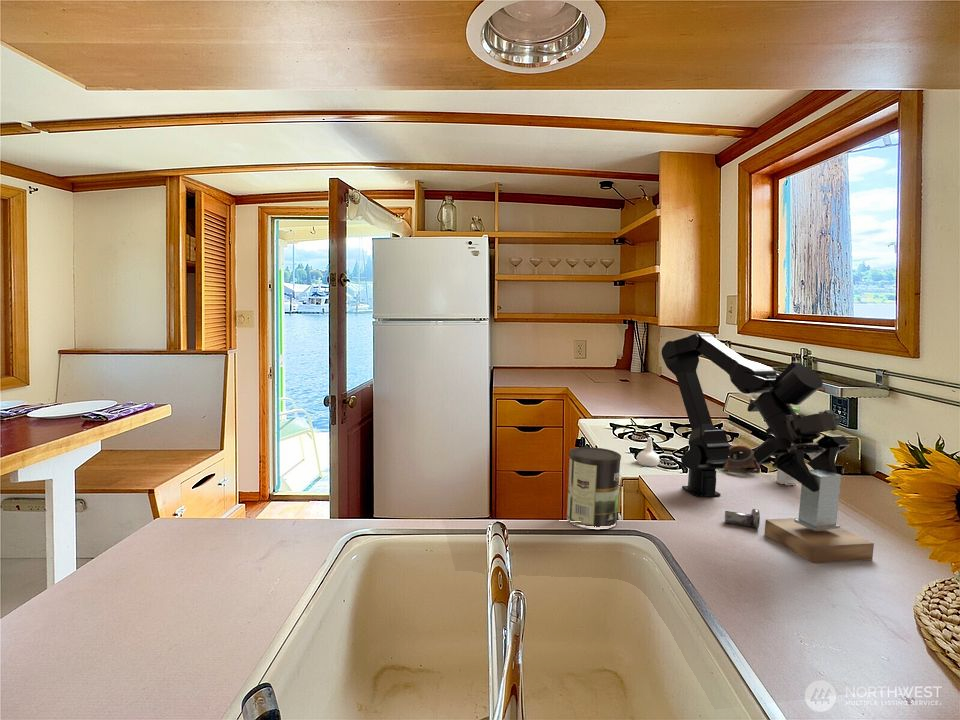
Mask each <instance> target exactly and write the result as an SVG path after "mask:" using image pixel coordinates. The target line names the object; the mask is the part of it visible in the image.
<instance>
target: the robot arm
mask: <svg viewBox="0 0 960 720" xmlns="http://www.w3.org/2000/svg"><path fill="white" fill-rule="evenodd" d="M701 356H704V357H705V358H707V359H708V360H709V361H711V362H712V363H713V364H714V365H716V366H717V367H719V368H720V369H721V370H723V371H724V372H725V373H727V375H729V378H730V379H729V380H730V383H732V384H733V386H734V387H735V388H736V389H737V390H738V391H739V392H740V393H742V394H746V395H747V394H748V395H751V394H753V395H754V394H759V396H757V397H756V398H750V399H749V404H748V405H747V409H746V410H747V412H749V413H752V412H759V414H760V416H761V417H762V419H763V420H764V422H765V424H766V425H767V428H766V429H765V432H766V434H767V435H768V436H769V435H770V436H771V435H773V437H769V438H767V439H766V440H765V441H763V442H762V443H760V444H759V445H758V446H757V447H756V448H754V449H753V452H754V455H753V457H754V458H755V460H756V462H757V463H758V465H761V466H762V465H770V464H771V462H772V456H774V460H775V462H773V463H772V464H771V467H773V468H776V469H780V470H781V471H783V472H785V473H786V474H788V475H789V476H791V477H792V478H794V479H795V480H796V482H798V483H800V484H801V485H802V484H803V485H804V486H805V487H807V488H808V489H810V490H811V491H813V492H816V491H818V490H819V488H818V486H817V484H816V482H815V480H814V478H813V476H812V475H811V473H810V471H809V470H810V469H809V468H808V466H809V467H810V468H812V470H818V469H824V470H827V471H830V472H834V473H837V474H838V471H837V468H836V467H837V466H836V462H835V458H836V456H837V455H839V454H840V453H841V452H843V451H844V450H846V449H847V448H849V447H850V446H851V443H850V442H849V440H847V437H846V436H844V435H841V434H826V435H824V436H822V437H821V434H820V433H824V432H829V431H832V432H833V431H838V426H839V425H840V424H841V422H840V421H841V418H840V417H839V416H838V415H837V414H836V413H835V412H834V411H833V410H832V409H825V410H824V411H818V413H813V414H812V413H811V414H808V415H805V414H803V413H802V414H799V413H798V415H797V414H796V412H795V411H794V409H793V408H794V407H793V406H800V405H802V403H804V402H805V401H806V400H807V399H809V398H810V397H811V396H813V394H815V393H816V392H818V390H820V389H821V388H822V387H823V383H824V382H823V380H822V378H821V376H820V375H819V373H816V372H815V371H813V370H812V369H810V368H809V367H807V366H804V365H803V363H802V362H801V361H791V362H790V363H789V364H788V365H787V366H786V368H785V369H784V370H783V371H782V372H781V373H780V374H778V373H777V372H776V370H775V369H774V368H773V367H770V366H767V365H765V364H762V363H760V362H757V361H753V360H749V359H747V358H744V357H743V356H741V355H740V354H739V353H737V352H736V351H734V350H733V349H731V348H729V347H728V346H727V345H725V344H724V343H722V342H721V341H720V340H718V339H717V338H715V336H714V335H712V334H711V333H699V332H698V333H697V332H696V333H693V334H691V335H689V336H686V337H683V338H678V339H676V340H668V341H666V342H665V344H664V345H663V346H662V348H661V357H662V359H663V362H664V365H665V366H666V368H667V369H668V370H669V371H670V372H671V373H672V374H673V375H674V376H675V378H676V380H677V381H676V382H677V384H678V385H677V386H678V388H679V393H680V394H681V398H682V402H683V405H684V408H685V411H686V414H687V418H688V421H689V425H690V429H691V432H690V434H689V438H688V447H689V449H688V450H686V452H685V453H683V454H682V455H681V457H680V461H681V465H682V467H685V468H686V469H688V479H687V485H681V488H682V490H685V491H686V492H688V493H690V494H692V495H693V496H694V497H721V493H720V492H719V491H717V470H725V469H724V466H725V464H726V461H727V459H728V458H730V457H729V455H730V450H729V447H730V446H731V444H730V443H729V441H728V437H727V433H726V431H725V430H724V429H718V428H716V426H714V424H713V423H714V422H713V421H712V418H711V415H710V411H709V408H708V405H707V402H706V398H705V395H704V392H703V388H702V385H701V382H700V379H699V376H698V373H697V369H698V365H699V363H700V358H699V357H701ZM792 405H793V406H792ZM792 407H793V408H792ZM820 437H821V438H820ZM819 438H820V439H819ZM816 439H817V441H814V440H816ZM805 454H806V455H808V456H809V458H810V460H809V461H808V462H807V464H808V466H807V464H806V462H805Z"/></svg>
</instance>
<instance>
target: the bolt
mask: <svg viewBox="0 0 960 720" xmlns="http://www.w3.org/2000/svg"><path fill="white" fill-rule="evenodd" d="M760 514H761V513H760V510H759V509H758V508H752V509H751V512H750V513H742V512H738V511H737V512H736V511H731V510H725V511H724V523H726V524H731V525H737V526H745V527H749V528H750V527H751V528H756V529H758V528H759V527H760V518H761V516H760Z"/></svg>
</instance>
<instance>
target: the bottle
mask: <svg viewBox="0 0 960 720" xmlns="http://www.w3.org/2000/svg"><path fill="white" fill-rule="evenodd" d="M792 408H793V409H794V411H795V412H796V414H797V415H799V413H798V412H799V411H800V409H799V408H797V407H793V406H792ZM776 469H777V470H776V471H777V472H776V482H777V484H780V485H783V484H785V486H790V485H793V486H796V485H797V480H795V479H794V478H792V477H791V476H789V475H788V474H786V473H785V472H783V471H781V470H780V469H778V468H776ZM795 484H796V485H795Z"/></svg>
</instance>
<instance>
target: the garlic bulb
mask: <svg viewBox="0 0 960 720" xmlns="http://www.w3.org/2000/svg"><path fill="white" fill-rule="evenodd" d="M652 439H653V438H652V437H647V441H646V446H645V449H644V450H641V451H639V452H638V454H637V455H636V462H637V464H639V465H641V466H645V467H657V466H659V464H660V462H661V461H660V456H659V455H658V453H657V452H655V451H654V448H653V440H652Z"/></svg>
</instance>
